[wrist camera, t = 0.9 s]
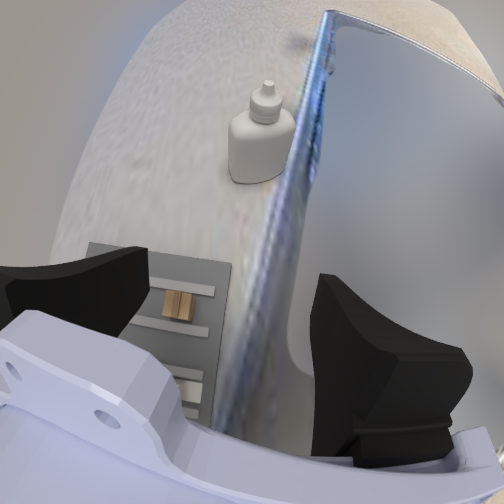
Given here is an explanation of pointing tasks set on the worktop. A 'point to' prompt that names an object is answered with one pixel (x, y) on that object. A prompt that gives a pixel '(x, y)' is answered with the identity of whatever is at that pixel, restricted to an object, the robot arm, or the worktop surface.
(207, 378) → the switch board
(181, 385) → the grooved grey cube
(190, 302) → the oak tab
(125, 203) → the worktop surface
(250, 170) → the eye dropper bottle
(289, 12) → the worktop surface
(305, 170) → the worktop surface
